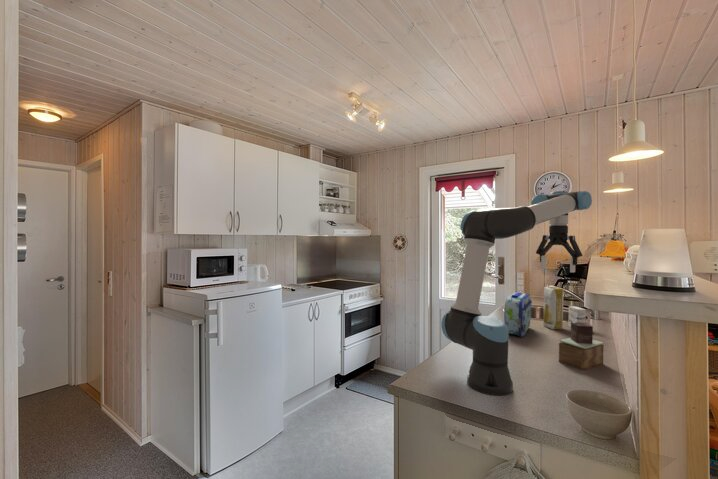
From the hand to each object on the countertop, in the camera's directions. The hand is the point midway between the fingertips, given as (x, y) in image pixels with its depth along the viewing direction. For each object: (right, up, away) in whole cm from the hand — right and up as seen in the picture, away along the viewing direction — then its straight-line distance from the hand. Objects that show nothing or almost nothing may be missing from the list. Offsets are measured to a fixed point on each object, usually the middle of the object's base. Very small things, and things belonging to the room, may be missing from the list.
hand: (557, 270), depth 156 cm
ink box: (+32, -36, +35) cm, 59 cm away
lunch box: (-5, -36, +28) cm, 46 cm away
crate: (+1, -37, -15) cm, 40 cm away
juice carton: (+19, -36, +36) cm, 54 cm away
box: (+1, -28, -16) cm, 32 cm away
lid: (+1, -29, -16) cm, 33 cm away
